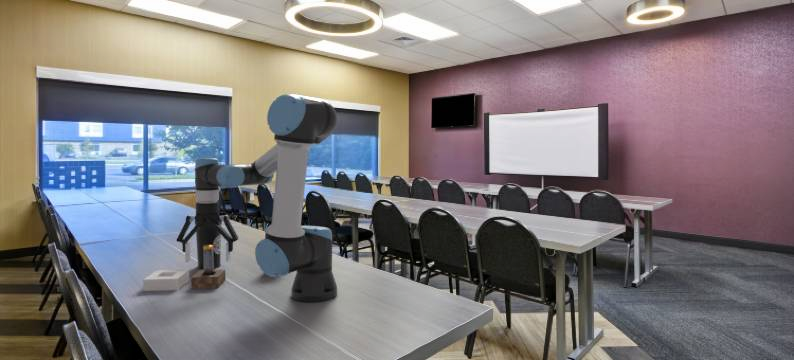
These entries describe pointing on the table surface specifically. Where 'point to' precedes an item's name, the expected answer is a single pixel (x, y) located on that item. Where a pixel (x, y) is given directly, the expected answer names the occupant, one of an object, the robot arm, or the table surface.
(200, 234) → the water bottle
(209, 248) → the pin
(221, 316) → the table surface
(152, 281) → the dock block
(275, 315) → the table surface
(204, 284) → the mount block
